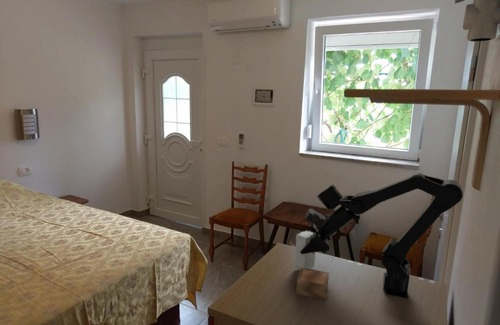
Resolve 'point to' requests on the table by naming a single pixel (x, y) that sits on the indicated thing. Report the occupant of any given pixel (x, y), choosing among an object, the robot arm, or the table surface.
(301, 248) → the skincare box
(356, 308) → the table surface
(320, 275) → the walnut stand
